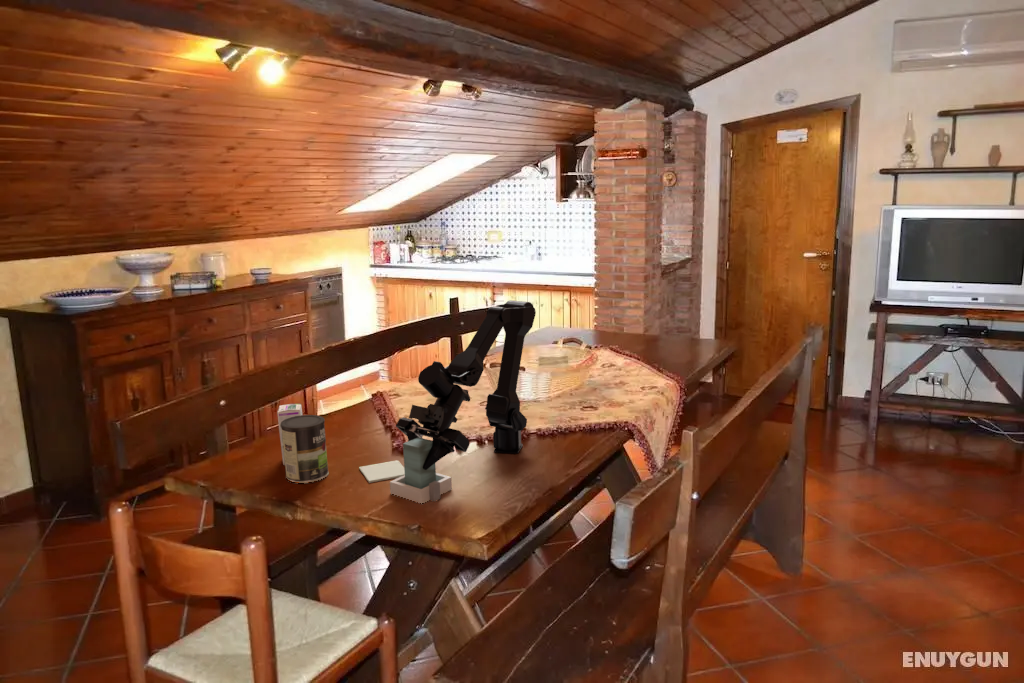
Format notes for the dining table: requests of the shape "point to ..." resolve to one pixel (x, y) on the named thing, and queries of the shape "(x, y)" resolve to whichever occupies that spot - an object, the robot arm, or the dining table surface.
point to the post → (418, 463)
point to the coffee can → (304, 448)
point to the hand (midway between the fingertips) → (415, 466)
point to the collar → (421, 495)
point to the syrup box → (286, 413)
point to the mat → (383, 471)
